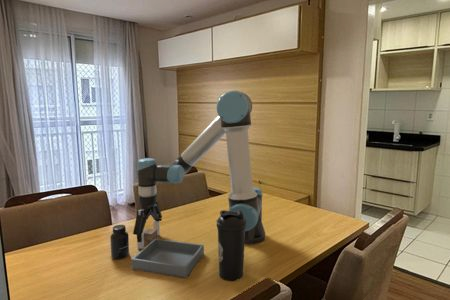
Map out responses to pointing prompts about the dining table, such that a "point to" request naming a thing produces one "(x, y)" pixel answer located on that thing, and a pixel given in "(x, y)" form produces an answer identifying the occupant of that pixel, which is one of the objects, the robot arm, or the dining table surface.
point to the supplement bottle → (119, 242)
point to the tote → (168, 258)
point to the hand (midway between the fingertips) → (149, 241)
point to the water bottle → (231, 244)
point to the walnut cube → (149, 235)
